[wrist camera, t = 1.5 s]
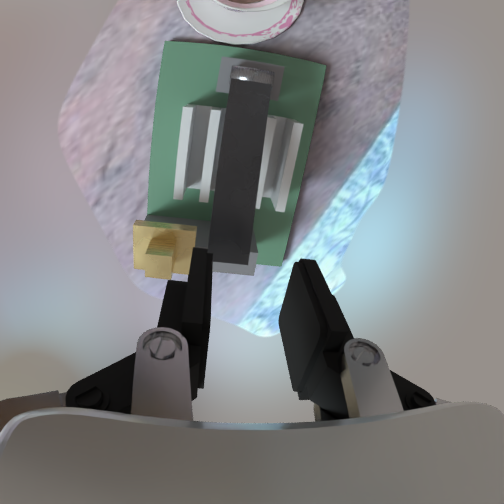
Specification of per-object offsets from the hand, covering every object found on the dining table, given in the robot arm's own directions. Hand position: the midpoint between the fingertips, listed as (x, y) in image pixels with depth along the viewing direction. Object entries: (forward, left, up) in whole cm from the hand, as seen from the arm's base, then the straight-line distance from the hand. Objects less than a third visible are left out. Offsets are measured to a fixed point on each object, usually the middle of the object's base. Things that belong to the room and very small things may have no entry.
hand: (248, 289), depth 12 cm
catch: (+6, -5, -13) cm, 16 cm away
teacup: (-17, -2, -22) cm, 28 cm away
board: (0, -1, -21) cm, 21 cm away
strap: (-2, 0, -14) cm, 14 cm away
